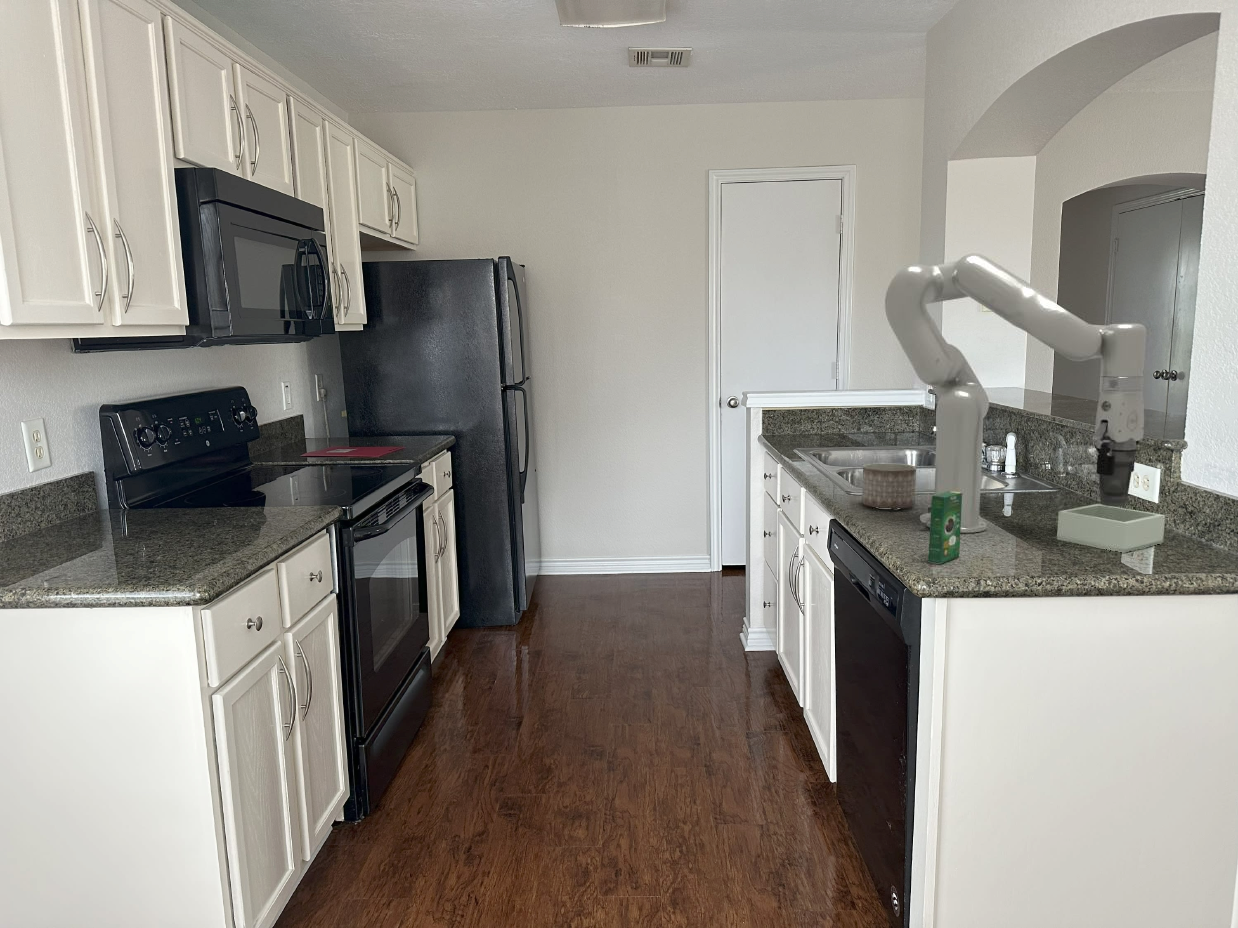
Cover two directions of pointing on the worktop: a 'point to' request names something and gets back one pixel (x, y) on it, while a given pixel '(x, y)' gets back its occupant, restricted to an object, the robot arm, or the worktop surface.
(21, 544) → the worktop surface
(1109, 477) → the beverage cup
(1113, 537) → the walled box
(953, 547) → the green upright box
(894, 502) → the planter
